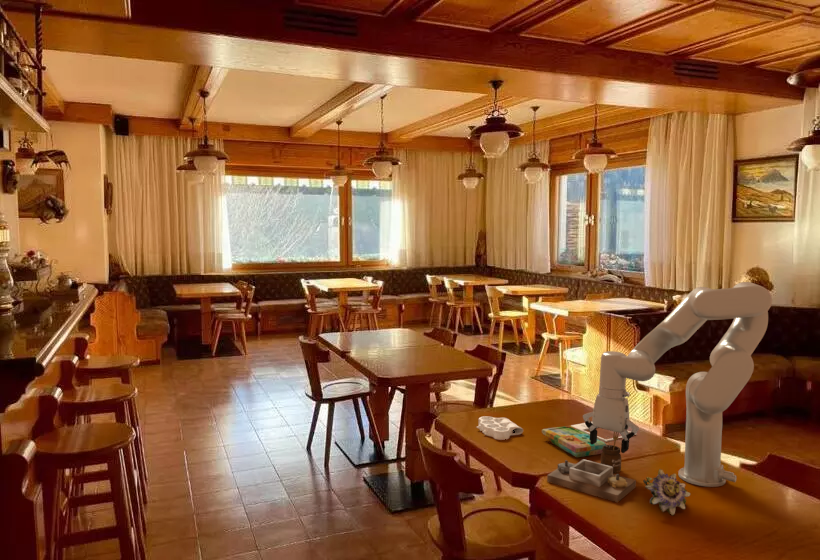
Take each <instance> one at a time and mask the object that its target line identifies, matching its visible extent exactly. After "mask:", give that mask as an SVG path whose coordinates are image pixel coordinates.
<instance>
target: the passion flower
mask: <svg viewBox="0 0 820 560" xmlns="http://www.w3.org/2000/svg"><path fill="white" fill-rule="evenodd" d="M652 480H653V481H652ZM650 481H652V482H650ZM642 482H643V483H644V485H645V486H644V488H645V489H646V490H649V492H650V494H651V495H652V497H650V499H649V504H650V505H657V504H658V506H659V509H660V511H661V512H662V513H664V512H667V513H668V514H669V515H670V514H671V515H670V516H674V515H675V514H676V508H677V507H678V508H679V509H682V510H686V502H687V499H686V498H688V497H690V496H691V492H688V491H687V490H686V488H685V487H686V483H683V482H682V483H681V482H680V481H679V480H678V479H677V474H676V473H673V474H670V475H669V474H668V473H666V474H665V472H664V470H663V469H661V468H659V469H658V472H657V475H656V477H653V478H652V477H649V476H647V477H646V479H644V480H643V481H642Z"/></svg>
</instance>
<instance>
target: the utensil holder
mask: <svg viewBox="0 0 820 560" xmlns="http://www.w3.org/2000/svg"><path fill="white" fill-rule="evenodd" d="M619 435H620V433H618V432H614V431H613V435H612V438H613V439H614V440H611V441H610V442H613V441H614V442H613V444H611V443H606V442H604V444H606V445H605V446H603V448H602V451H603V452H602V453H601V454H600V464H604V465H608V466H612V467H613V474H619V473H620V472H621V470H622V455H621V447H619V446H617V445H616V441H617V440H619V439H618V437H619ZM612 438H611V437H610V436H608V435H607V436H605V438H603V439H604V440H605V439H606V440H607V439H612Z"/></svg>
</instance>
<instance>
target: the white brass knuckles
mask: <svg viewBox="0 0 820 560" xmlns="http://www.w3.org/2000/svg"><path fill="white" fill-rule="evenodd" d="M476 428H477V429H479V431H480V432H481V431H482V432H481V433H483V435H485V436H488V437H492V438H493V439H494V440H498V441H499V440H500V441H502V440H505V439H506V440H508V439H510V438H511V436H518V435H519V436H520V435H521V434H523V432H524V428H522V427H521V426H519V425H517V424H516V423H515V422H513V421H511V420H510V419H509V418H507V417H493V416H485V415H484V416H480V417H479V418H478V426H476ZM513 430H514V431H515V433H513V432H514V431H513ZM506 440H505V441H506Z"/></svg>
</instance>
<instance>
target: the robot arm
mask: <svg viewBox="0 0 820 560" xmlns="http://www.w3.org/2000/svg"><path fill="white" fill-rule="evenodd" d="M772 303H773V298H772V295H771V293H770V291H769V289H767V288H766V287H764V286H762V285H759V284H756V283H753V282H751V281H742V282H739V283H737V284H735V285H733V287H729V288H728V287H726V288H715V289H714V288H711V287H707V286H699V287H696V288H694V289H693V290H691V291H690V292H689V293H688V294H687V295H686V296H685V298H683V300H682V301H680V303H679V304H678V305H677V306H676V307H674V309H673V310H672V311H671V312H670V313H669V314H668V315H667V316H666V317H665V318H664V320H662V321H661V322H660V323H659V324H657V326H656V327H654V328H653V329H652V330H650V332H648V333H647V334H646V335H645V336H644V337H643V338H642V339H641V340H640V341H639V342H638V343H637V344H636V345H635V347H634V348H632V350H631V351H630V352H629V353H628V355H627V354H625V353H623V352H621V351H615V350H613V351H611V350H610V351H604V352H602V354H601V357H600V371H599V373H600V374H599V385H598V388H599V389H598V393H597V394H596V396H595V400H594V404H593V409H592V410H593V411H591V412H590V411H589V412H587V413H583V415H582V418H583V421H584V423H585V424H586V426H587V427H588V428H589V429H588V432H589V433H590V440H591V442H590V444H592V445H593V444H595V443H596V442H597V439H598V438H597V436H598V428H599V429H604V430H607V431H611V432H613V433H614V432H615V433H616V432H617V434H618V433H619V435H620V437H621V436H622V437H623V438H622V439H621V442H620V443H621V444H620V445H621V446H620V453H622V454H624V453H626V452H627V451H628V450H629V447H630V439H631V438H633V437H635V436H634V435H635V434H637V433H638V431H639V430H640V427H639V426H638V425H637V424H636V423H634V422H633V421H632V420H630V405H629V400H628V398H629V397H630V395H631V393H630V392H629V391H627V388H626V383H627V379H628V380H634V381H637V382H647V381H649V380H651V379H652V378H653V377H654V376H655V374H656V366H655V363H656V362H657V361H658V360H659V359H660V358H661V357H662V356H663V355H664V354H665V353H666V352H667V351H669V350H670V349H671V348H674V347H676V346H680V345H683V344H684V343H685V342H688V340H689V339H690V338H691V337H692V336H693V335H694V334H695V333H696V332H697V330H699V329H700V328H701V327H702V326H703V325H704V324H705V323H706V322H707V321H714V320H715V321H716V320H732V319H733V320H732V323H731V324H730V326H729V327H728V329H727V331H726V332H725V333H724V334H723V336H722V337H721V338H720V340H719V342H718V343H717V344H716V346H715V347H714V348H713V349H712V351H711V353H710V354H709V355H710V356H709V362H710V365H711V368H709V370H708V371H699V372H696V373H693V374H692V375H691V376H690V377H689V378H688V380H687V382H686V384H685V405H686V409H685V410H686V415H685V417H686V419H685V438H684V439H685V440H684V441H685V442H684V445H685V446H684V466H683V467H682V468H680V469H679V470H678V477H679V478H680V479H681V480H683V481H685V482H686V483H689V484H692V485H695V486H700V487H708V488H711V487H712V488H716V487H717V488H718V487H721V486H724V485H725V484H726V482H727V481H728V482H733V483H736V482H737V475H736V474H735V473H734V472H731V471H728V470H726V469H724V465H723V464H721V461H722V460H721V458H722V440H723V439H722V437H723V436H722V435H723V432H722V431H723V412H724V411H726V410H727V409H728V408H729V407H730V406H731V404H733V402H734V401H735V400H736V398H737V397H738V395H739V394H740V393H741V391H742V390H743V389H744V387H745V386H746V385H747V383H748V382H749V381H750V379H751V377H752V374H753V373H754V368H755V365H754V364H755V363H754V360H753V358H752V354H753V353H754V351H755V350H756V348H757V347H758V345H759V343H760V342H761V341H762V339H763V338H764V336H765V334H766V331H767V329H768V324H769V312H768V311H769V310H770V308H771V306H772ZM590 418H592V420H590ZM591 422H592V423H593V424H592V423H591ZM597 427H598V428H597ZM628 429H631V431H630V432H631V433H629V432H628V431H629V430H628ZM627 430H628V431H627Z"/></svg>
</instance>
